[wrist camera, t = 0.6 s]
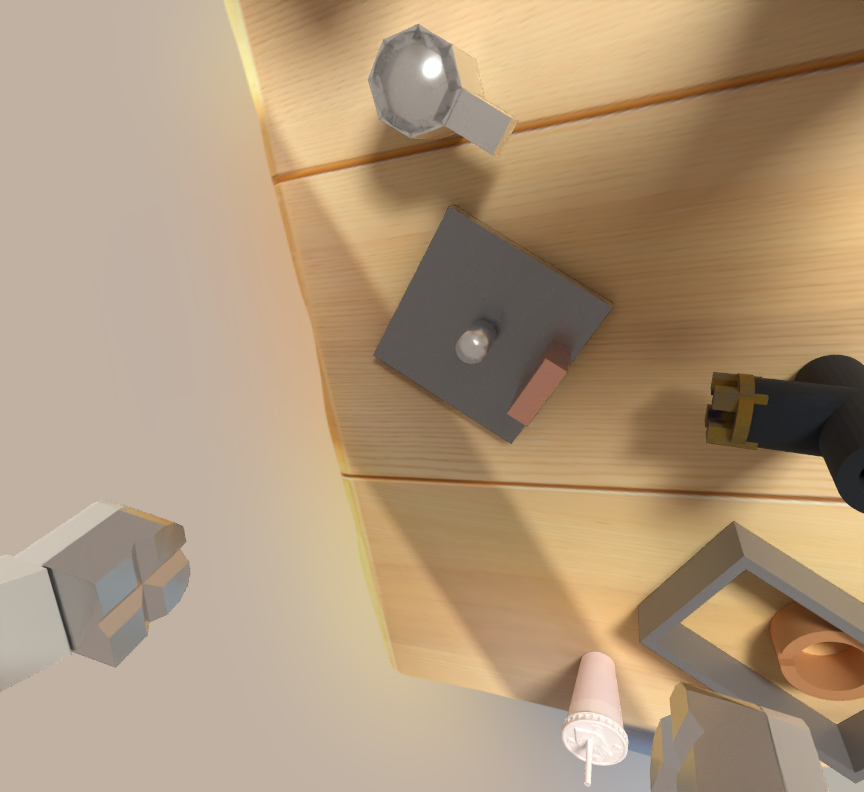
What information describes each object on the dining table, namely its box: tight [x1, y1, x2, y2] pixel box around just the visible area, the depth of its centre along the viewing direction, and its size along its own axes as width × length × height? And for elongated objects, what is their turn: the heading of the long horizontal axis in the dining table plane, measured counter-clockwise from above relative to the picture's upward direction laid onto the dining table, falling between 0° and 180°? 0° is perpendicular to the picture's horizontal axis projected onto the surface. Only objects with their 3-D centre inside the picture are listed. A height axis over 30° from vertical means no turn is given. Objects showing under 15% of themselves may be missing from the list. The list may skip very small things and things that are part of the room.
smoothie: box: [562, 652, 628, 786], centre depth 57 cm, size 6×6×14 cm
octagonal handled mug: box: [368, 24, 518, 155], centre depth 41 cm, size 6×10×7 cm, turn 62°
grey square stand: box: [374, 205, 613, 444], centre depth 48 cm, size 16×16×6 cm
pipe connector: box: [705, 355, 864, 513], centre depth 39 cm, size 12×5×15 cm, turn 92°
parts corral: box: [638, 521, 864, 783], centre depth 52 cm, size 14×24×5 cm, turn 62°
